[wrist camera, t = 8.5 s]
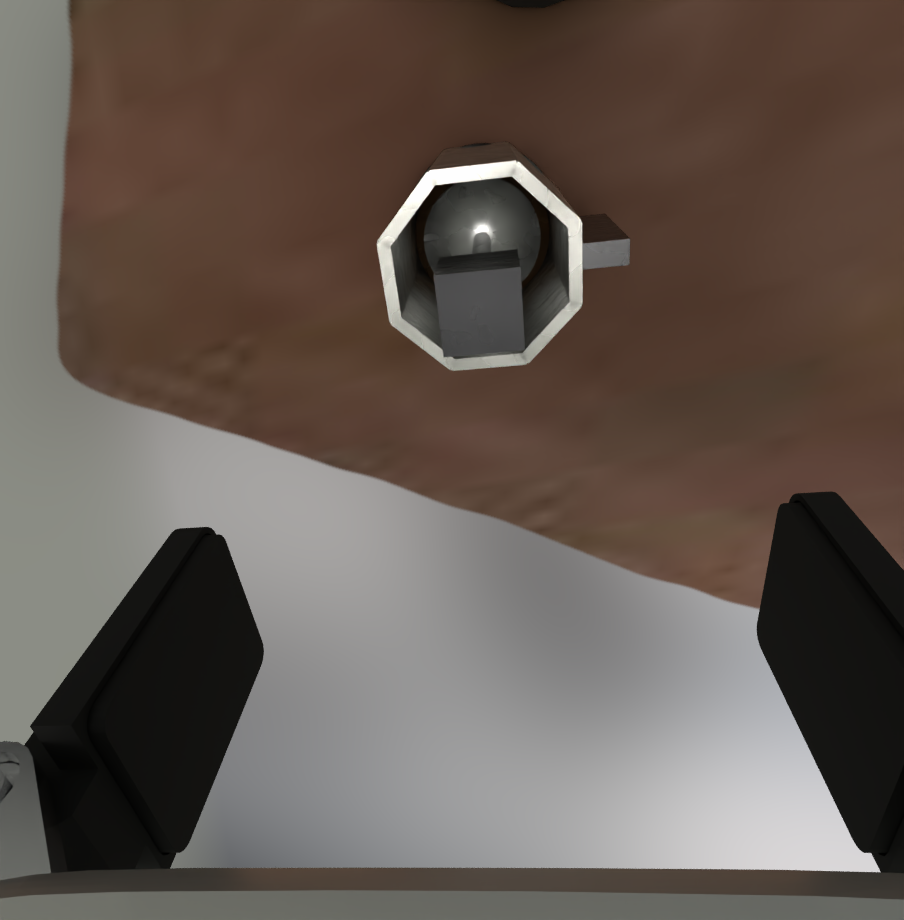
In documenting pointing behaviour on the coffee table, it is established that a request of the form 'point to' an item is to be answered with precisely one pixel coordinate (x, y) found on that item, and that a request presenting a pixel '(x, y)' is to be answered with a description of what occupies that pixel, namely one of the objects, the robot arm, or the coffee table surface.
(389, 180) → the coffee table surface
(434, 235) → the plunger
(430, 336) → the press carafe
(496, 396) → the coffee table surface
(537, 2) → the coffee jar
